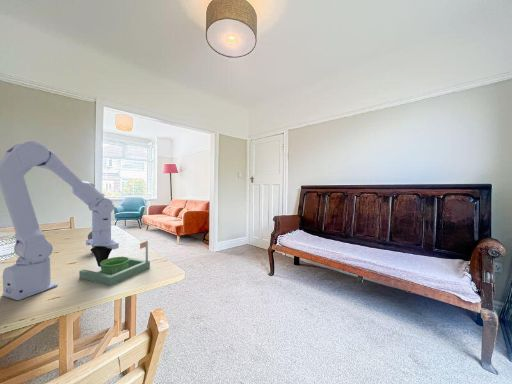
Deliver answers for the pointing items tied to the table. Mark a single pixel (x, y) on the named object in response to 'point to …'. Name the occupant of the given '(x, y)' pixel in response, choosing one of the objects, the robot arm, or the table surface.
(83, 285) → the table surface
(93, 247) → the light bulb
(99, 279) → the green tray with flag
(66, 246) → the table surface
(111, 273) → the ramekin
